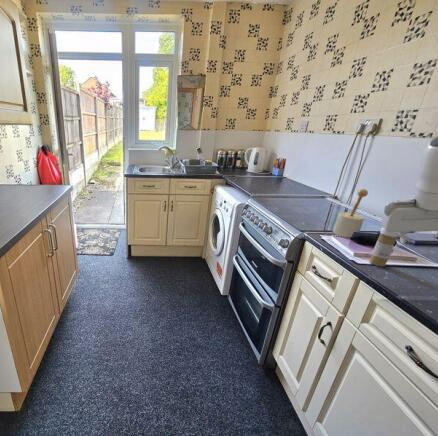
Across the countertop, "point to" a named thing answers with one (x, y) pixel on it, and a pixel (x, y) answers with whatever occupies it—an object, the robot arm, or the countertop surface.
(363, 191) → the utensil crock
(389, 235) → the sprinkles bottle
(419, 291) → the countertop surface
